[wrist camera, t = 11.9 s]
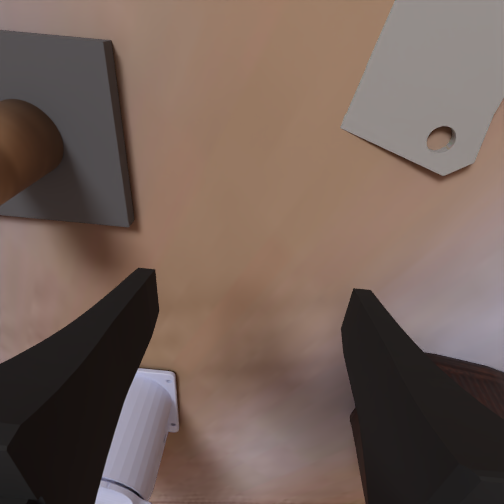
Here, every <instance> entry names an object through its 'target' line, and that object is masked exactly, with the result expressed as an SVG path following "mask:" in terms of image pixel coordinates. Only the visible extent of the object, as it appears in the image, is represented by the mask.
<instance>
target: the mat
mask: <svg viewBox="0 0 504 504" xmlns="http://www.w3.org/2000/svg"><path fill="white" fill-rule="evenodd" d="M6 99H18V100H23V101H26V102H28V103H31V104H33V105H34V106H36V107H38V108H39V109H41V110H42V111H43V112H44V113H45V114H46V115H47V116H48V117H49V118H50V119H51V120H52V121H53V123H54V124H55V126H56V127H57V129H58V131H59V133H60V135H61V138H62V141H63V150H64V152H63V157H62V160H61V162H60V164H59V165H58V166H57V167H56V168H55V169H54V170H52V171H51V172H49V173H48V174H46V175H45V176H43V177H42V178H41V179H39V180H38V181H36V182H35V183H33V184H32V185H30V186H29V187H27V188H26V189H24V190H23V191H21V192H20V193H18V194H17V195H15V196H14V197H12V198H11V199H10V200H8V201H7V202H5V203H4V204H2V205H1V206H0V215H5V216H16V217H26V218H37V219H47V220H58V221H68V222H79V223H89V224H100V225H110V226H121V227H130V225H131V224H132V222H133V221H134V213H133V205H132V197H131V189H130V182H129V174H128V166H127V158H126V151H125V143H124V135H123V127H122V119H121V112H120V104H119V96H118V88H117V81H116V73H115V65H114V57H113V50H112V42H111V40H102V39H91V38H80V37H69V36H59V35H48V34H37V33H26V32H15V31H4V30H0V101H2V100H6Z"/></svg>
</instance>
